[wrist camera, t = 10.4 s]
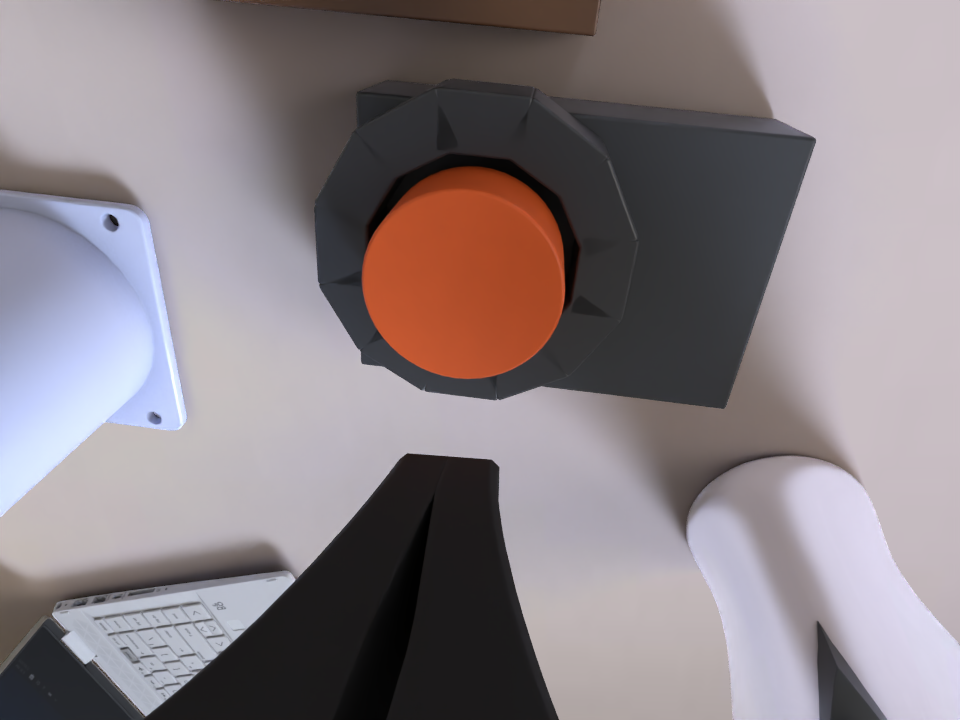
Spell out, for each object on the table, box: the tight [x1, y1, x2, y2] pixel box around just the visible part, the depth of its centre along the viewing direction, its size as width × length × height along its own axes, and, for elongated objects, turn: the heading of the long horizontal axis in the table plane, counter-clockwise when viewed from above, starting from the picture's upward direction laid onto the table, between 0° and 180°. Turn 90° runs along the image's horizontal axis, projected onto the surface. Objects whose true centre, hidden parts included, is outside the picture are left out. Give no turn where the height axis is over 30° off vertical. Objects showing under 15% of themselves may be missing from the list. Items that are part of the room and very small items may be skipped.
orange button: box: [362, 166, 565, 379], centre depth 13 cm, size 4×4×2 cm
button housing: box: [314, 79, 816, 409], centre depth 15 cm, size 10×7×4 cm
